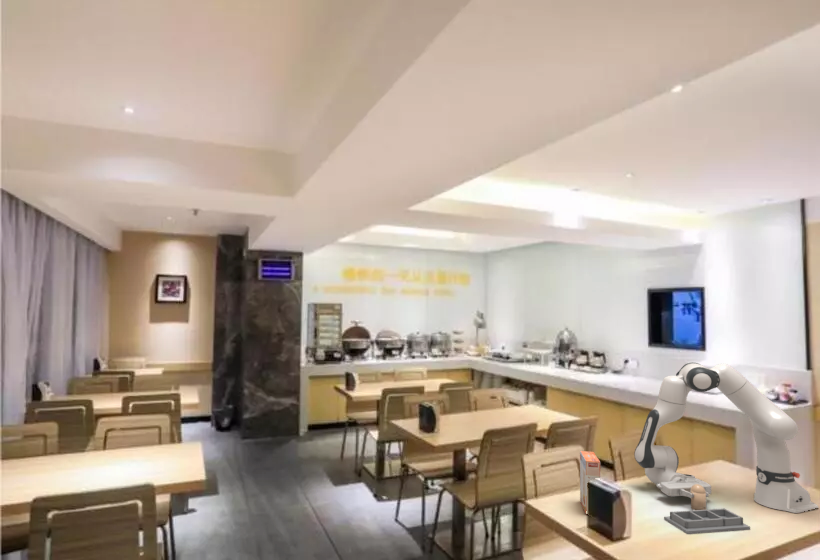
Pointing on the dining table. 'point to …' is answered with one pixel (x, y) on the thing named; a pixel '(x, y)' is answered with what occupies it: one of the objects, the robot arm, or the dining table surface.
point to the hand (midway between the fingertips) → (699, 495)
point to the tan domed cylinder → (698, 497)
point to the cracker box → (587, 473)
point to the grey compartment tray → (706, 521)
